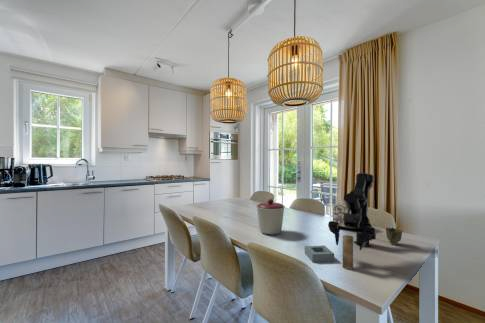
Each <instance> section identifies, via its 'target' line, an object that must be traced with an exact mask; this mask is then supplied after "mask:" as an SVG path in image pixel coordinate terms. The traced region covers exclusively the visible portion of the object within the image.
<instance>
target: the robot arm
mask: <svg viewBox="0 0 485 323" xmlns="http://www.w3.org/2000/svg"><path fill="white" fill-rule="evenodd" d="M374 183H375V176H374V175H373V174H372V173H366V172H359V173H357V174H356V176H355V186H354V188H353V189H352V190H351V191H349V193H346V194H345V195H344V197H343V200H345V203H346V207H347V208H348V212H347V213H344V215H343V221H344V224H345V226H341V225H339V223H338V222H335V221H333V220H330V221H328V225H327V226H328V229H329V231H330V232H331V233H332V234H333V235H334V238H335V245H336V246H338V245H339V242H340V234H341V233H340V231H343V232H344V231H346V232H351V233H354V234H355V236H356V240H353V244H356V245H357V246H359V251H362V249H363V248H364V247H372V246H373V244H370V241H373V240H375V241H376V239H377V232H376V229H375V227H374V226H372V223H371V220H370V218H369V217H368V207H369V196H370V190H371V189H372V187H373V186H374Z"/></svg>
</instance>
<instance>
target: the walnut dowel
mask: <svg viewBox="0 0 485 323" xmlns="http://www.w3.org/2000/svg"><path fill="white" fill-rule="evenodd" d="M342 268H343V269H344V270H348V271H350V270H353V269H354V237H353V235H348V234H346V235H345V234H344V235H342Z"/></svg>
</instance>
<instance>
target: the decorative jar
mask: <svg viewBox="0 0 485 323" xmlns="http://www.w3.org/2000/svg"><path fill="white" fill-rule="evenodd" d="M347 212H348V208H347V207H346V203H345V200H344V199H343V200H341V202H335V204H334V205H333V207H332V221H335V222H338V223H339V225H341V226H345V224H344V221H343V215H344V213H347Z"/></svg>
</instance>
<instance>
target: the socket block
mask: <svg viewBox="0 0 485 323" xmlns="http://www.w3.org/2000/svg"><path fill="white" fill-rule="evenodd" d="M304 255H305V256H306V257H307V258H308V259H309V260H310V261H311V263H330V262H331V263H332V262H333V263H334V262H335V253H334V252H333V251H332V250H331V249H329V248H328V247H327V246H326V245H305V246H304Z"/></svg>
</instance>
